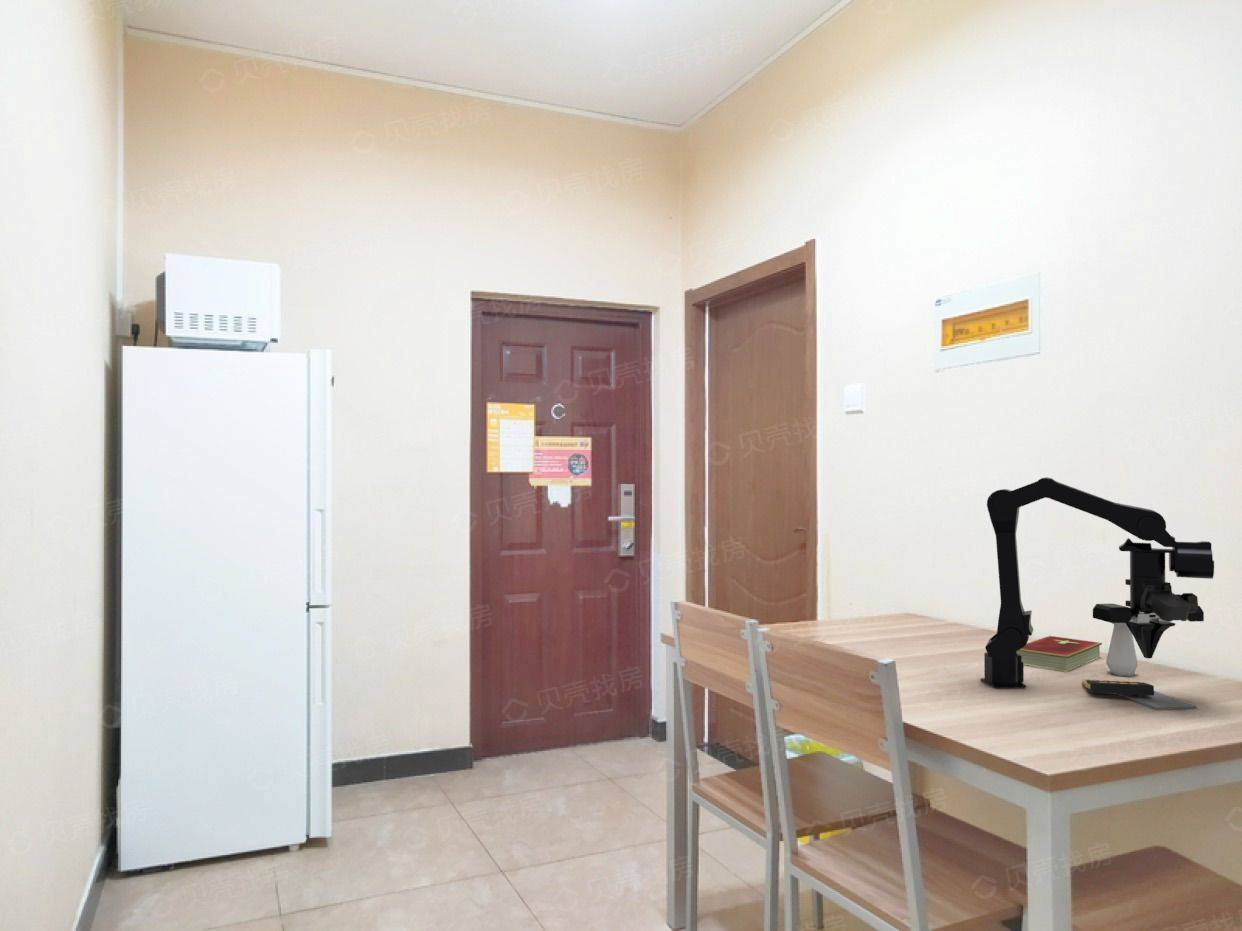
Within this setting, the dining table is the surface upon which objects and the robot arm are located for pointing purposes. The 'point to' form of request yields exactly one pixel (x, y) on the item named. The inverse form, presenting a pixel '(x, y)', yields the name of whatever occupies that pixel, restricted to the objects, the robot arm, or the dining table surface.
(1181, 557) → the robot arm
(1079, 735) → the dining table surface
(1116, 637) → the salt shaker
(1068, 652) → the hardcover book
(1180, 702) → the mat
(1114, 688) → the ammunition clip
